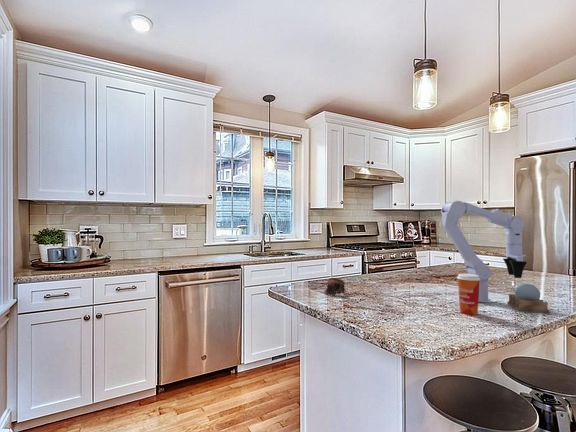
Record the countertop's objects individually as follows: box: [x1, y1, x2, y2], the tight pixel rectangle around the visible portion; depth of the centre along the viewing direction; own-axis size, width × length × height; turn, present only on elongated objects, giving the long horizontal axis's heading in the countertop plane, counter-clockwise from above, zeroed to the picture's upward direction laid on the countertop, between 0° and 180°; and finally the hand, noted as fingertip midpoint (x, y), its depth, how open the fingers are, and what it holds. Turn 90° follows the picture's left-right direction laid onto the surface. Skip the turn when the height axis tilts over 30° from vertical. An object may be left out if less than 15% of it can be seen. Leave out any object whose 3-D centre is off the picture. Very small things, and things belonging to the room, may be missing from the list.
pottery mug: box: [324, 277, 346, 297], centre depth 154 cm, size 12×10×8 cm
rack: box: [507, 293, 550, 314], centre depth 128 cm, size 10×12×4 cm
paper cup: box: [456, 273, 481, 316], centre depth 122 cm, size 8×8×14 cm
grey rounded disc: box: [514, 282, 541, 300], centre depth 129 cm, size 8×2×8 cm, turn 72°
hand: (514, 276), depth 140 cm, fingers open, 7 cm apart
